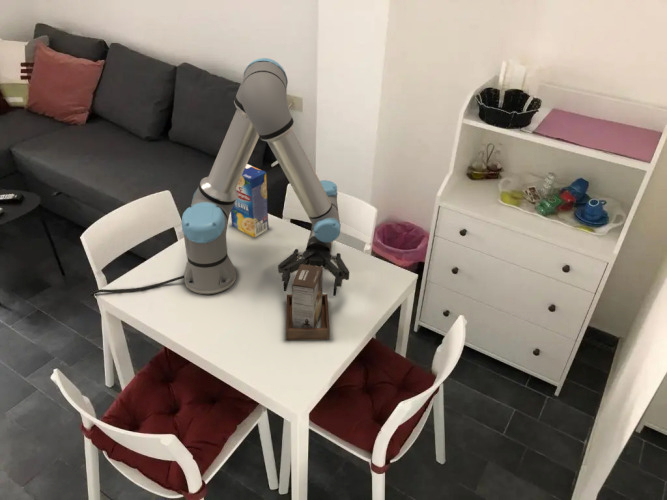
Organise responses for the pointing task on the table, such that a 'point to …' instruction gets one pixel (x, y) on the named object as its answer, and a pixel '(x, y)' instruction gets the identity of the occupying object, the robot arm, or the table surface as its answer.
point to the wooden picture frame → (308, 332)
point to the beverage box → (251, 202)
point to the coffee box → (307, 296)
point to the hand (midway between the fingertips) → (309, 289)
